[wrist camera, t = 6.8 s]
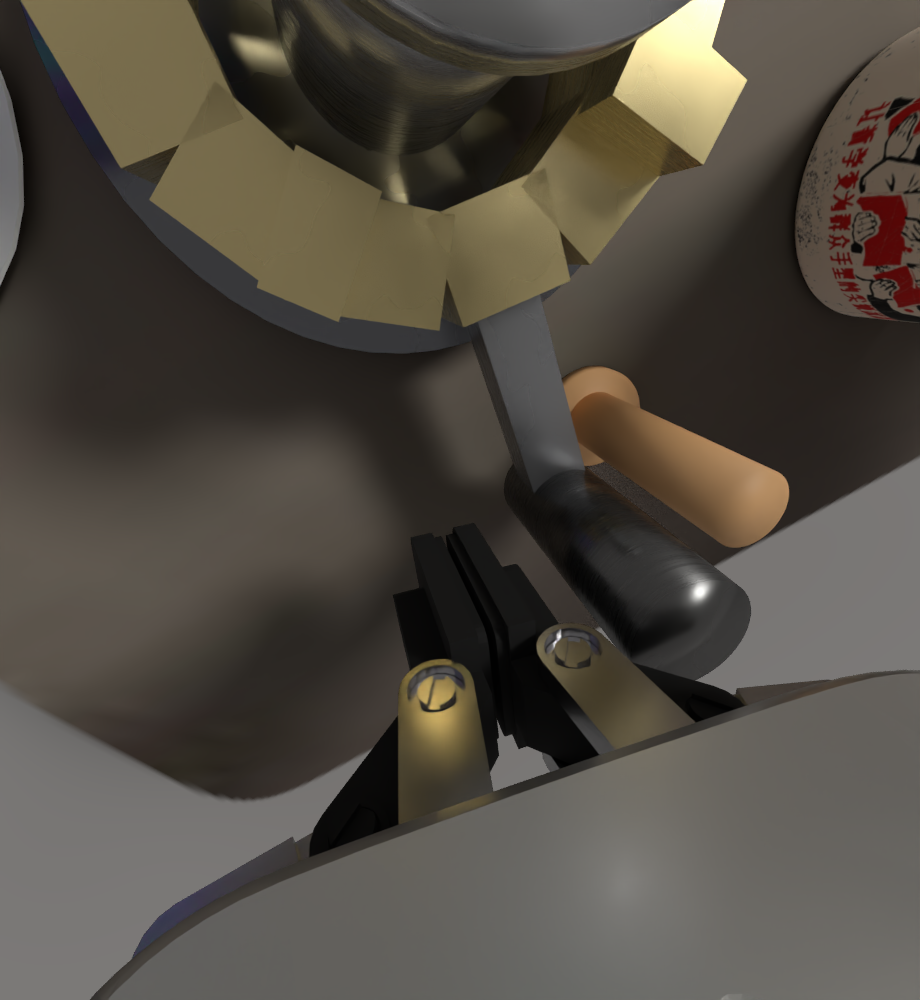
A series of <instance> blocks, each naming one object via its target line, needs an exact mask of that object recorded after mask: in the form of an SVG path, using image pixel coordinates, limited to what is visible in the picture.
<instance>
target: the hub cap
mask: <svg viewBox="0 0 920 1000" xmlns="http://www.w3.org/2000/svg"><path fill="white" fill-rule="evenodd" d="M690 1H692V0H198V5H199V18H200V21H201V23H202V25H203V27H204V29H205V31H206V33H207V36H208V38H209V40H210V42H211V44H212V46H213V48H214V51H215V53H216V55H217V57H218V59H219V61H220V63H221V66H222V68H223V70H224V72H225V74H226V76H227V78H228V80H229V83H230V85H231V87H232V89H233V91H234V93H235V95H236V98H237V100H238V102H239V103H240V104H242V105H243V106H244V107H245V108H246V109H247V110H248V111H249V112H250V113H252V114H253V115H254V116H255V117H256V118H257V119H258V120H259V121H260V122H262V123H263V124H264V125H265V126H266V127H267V128H268V129H269V130H271V131H272V132H273V133H274V134H275V135H276V136H277V137H278V138H279V139H281V140H282V141H283V142H284V143H285V144H286V145H287V146H288V147H290V148H291V149H292V150H293V151H294V150H295V146H296V145H298V146H300V147H301V148H303V149H305V150H307V151H309V152H311V153H312V154H314V155H316V156H318V157H320V158H322V159H323V160H325V161H327V162H329V163H331V164H333V165H334V166H336V167H338V168H340V169H342V170H344V171H345V172H347V173H349V174H351V175H353V176H355V177H356V178H358V179H360V180H362V181H364V182H366V183H367V184H369V185H371V186H373V187H375V188H377V189H378V190H380V191H382V193H381V196H380V199H384V200H388V201H393V202H397V203H402V204H406V205H411V206H416V207H420V208H425V209H429V210H434V211H438V212H441V211H443V210H446V209H448V208H450V207H453V206H455V205H457V204H460V203H462V202H464V201H467V200H469V199H471V198H474V197H476V196H479V195H481V194H483V193H486V192H488V191H490V190H491V188H492V187H493V185H494V184H495V182H496V181H497V180H498V178H499V177H500V175H501V174H502V173H503V171H504V170H505V168H506V167H507V166H508V164H509V163H510V161H511V160H512V158H513V157H514V156H515V154H516V153H517V151H518V150H519V149H520V147H521V146H522V144H523V143H524V141H525V140H526V139H527V137H528V136H529V134H530V133H531V132H532V130H533V129H534V127H535V126H536V124H537V123H538V122H539V120H540V119H541V116H542V111H543V105H544V100H545V94H546V89H547V84H548V78H549V74H550V73H555V72H561V71H566V70H572V69H575V68H577V67H580V66H583V65H586V64H588V63H591V62H594V61H597V60H599V59H602V58H605V57H607V56H609V55H610V54H612V53H614V52H616V51H617V50H619V49H621V48H623V47H625V46H626V45H628V44H630V43H632V42H634V41H635V40H637V39H639V38H640V37H641V36H643V35H644V34H646V33H647V32H649V31H650V30H651V29H653V28H654V27H656V26H657V25H658V24H660V23H661V22H663V21H664V20H665V19H667V18H668V17H670V16H671V15H672V14H674V13H675V12H677V11H678V10H679V9H681V8H682V7H684V6H685V5H686V4H688V3H689V2H690ZM20 3H21V6H22V8H23V11H24V14H25V17H26V20H27V23H28V26H29V29H30V32H31V35H32V37H33V40H34V43H35V46H36V48H37V50H38V52H39V54H40V57H41V59H42V61H43V63H44V65H45V68H46V70H47V72H48V74H49V76H50V78H51V81H52V83H53V85H54V87H55V89H56V92H57V94H58V96H59V98H60V100H61V102H62V104H63V106H64V108H65V110H66V111H67V113H68V115H69V116H70V118H71V120H72V122H73V123H74V125H75V127H76V128H77V130H78V132H79V134H80V135H81V137H82V139H83V140H84V142H85V144H86V146H87V147H88V149H89V151H90V153H91V154H92V156H93V157H94V159H95V160H96V161H97V163H98V164H99V166H100V167H101V168H102V170H103V171H104V173H105V174H106V175H107V177H108V178H109V180H110V181H111V182H112V184H113V185H114V186H115V188H116V189H117V191H118V192H119V193H120V195H121V196H122V198H123V199H124V200H125V202H126V203H127V204H128V205H129V206H130V207H131V208H132V210H133V211H134V212H135V213H136V214H137V215H138V216H139V218H140V219H141V220H142V221H143V222H144V223H145V224H146V226H147V227H148V228H149V229H150V230H151V231H152V232H153V233H154V235H155V236H156V237H157V238H158V239H159V240H160V241H161V242H162V243H163V244H164V245H165V246H166V247H167V248H168V249H169V250H171V251H172V252H173V253H174V254H175V255H176V256H177V257H178V258H179V259H180V260H181V261H182V262H184V263H185V264H186V265H187V266H188V267H189V268H190V269H191V270H192V271H193V272H194V273H195V274H197V275H198V276H200V277H201V278H202V279H204V280H205V281H206V282H208V283H209V284H210V285H212V286H213V287H214V288H216V289H217V290H218V291H220V292H221V293H222V294H224V295H225V296H226V297H228V298H229V299H230V300H232V301H234V302H235V303H237V304H239V305H240V306H242V307H244V308H246V309H247V310H249V311H251V312H252V313H254V314H256V315H258V316H259V317H261V318H263V319H264V320H266V321H268V322H270V323H273V324H275V325H277V326H280V327H282V328H284V329H286V330H289V331H291V332H293V333H296V334H298V335H300V336H302V337H306V338H309V339H312V340H316V341H319V342H322V343H326V344H329V345H333V346H336V347H341V348H347V349H353V350H359V351H365V352H371V353H404V354H405V353H414V352H424V351H433V350H439V349H443V348H447V347H451V346H455V345H459V344H463V343H467V342H470V341H471V339H470V336H469V333H468V330H467V327H464V328H463V327H461V326H459V325H457V324H455V323H453V322H451V321H448V320H446V319H444V318H442V317H441V322H440V330H439V331H437V330H430V329H423V328H416V327H409V326H403V325H396V324H389V323H382V322H375V321H368V320H362V319H355V318H348V317H341V316H340V319H339V322H337V321H335V320H332V319H330V318H328V317H325V316H323V315H320V314H318V313H314V312H313V311H311V310H309V309H306V308H304V307H302V306H299V305H297V304H294V303H292V302H290V301H287V300H284V299H283V298H280V297H278V296H275V295H273V294H271V293H268V292H266V291H264V290H261V289H259V288H257V285H258V281H259V280H257V279H256V278H254V277H253V276H252V275H250V274H249V273H248V272H246V271H245V270H244V269H242V268H241V267H240V266H238V265H237V264H236V263H234V262H233V261H231V260H230V259H229V258H227V257H226V256H225V255H223V254H222V253H221V252H219V251H218V250H217V249H215V248H214V247H213V246H211V245H210V244H208V243H207V242H206V241H204V240H203V239H202V238H200V237H199V236H198V235H196V234H195V233H194V232H192V231H191V230H190V229H188V228H187V227H185V226H184V225H183V224H181V223H180V222H179V221H177V220H176V219H175V218H173V217H172V216H171V215H169V214H168V213H167V212H165V211H164V210H162V209H161V208H160V207H158V206H157V205H156V204H154V203H153V202H152V201H150V200H149V199H150V197H151V196H152V194H153V192H154V190H155V188H156V187H157V185H156V184H154V183H151V182H149V181H147V180H145V179H143V178H141V177H138V176H136V175H134V174H132V173H130V172H128V171H126V170H123V169H121V168H120V166H119V164H118V163H117V161H116V159H115V158H114V156H113V154H112V153H111V151H110V149H109V148H108V146H107V144H106V143H105V141H104V139H103V138H102V136H101V134H100V132H99V131H98V129H97V127H96V126H95V124H94V122H93V121H92V119H91V117H90V116H89V114H88V112H87V111H86V109H85V107H84V106H83V104H82V102H81V101H80V99H79V97H78V96H77V94H76V92H75V91H74V89H73V87H72V86H71V84H70V82H69V81H68V79H67V77H66V76H65V74H64V72H63V71H62V69H61V67H60V66H59V64H58V62H57V61H56V59H55V57H54V56H53V54H52V52H51V51H50V49H49V47H48V46H47V44H46V42H45V41H44V39H43V37H42V35H41V34H40V32H39V30H38V29H37V27H36V25H35V24H34V22H33V20H32V19H31V17H30V15H29V14H28V12H27V10H26V9H25V7H24V5H23V4H22V2H21V0H20ZM567 267H568V271H569V276H570V277H571V276H572V275H573V274H574V273H575V272H576V270H577V269H578V268H579V267H580V265H567ZM560 286H561V285H560ZM560 286H557V287H555V288H553V289H550V290H548V291H546V292H544V293H541V294H540V298H541V301H542V302H543V301H544V300H545V299H547V298H548V297H549V296H551V295H552V294H553V293H554V292H555V291H556V290H557V289H558V288H559V287H560Z"/></svg>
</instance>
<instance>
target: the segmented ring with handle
mask: <svg viewBox="0 0 920 1000" xmlns="http://www.w3.org/2000/svg"><path fill="white" fill-rule="evenodd" d="M724 1H725V0H692V1H690V2H689V3H688V4H686V5H685V6H684V7H682V8H681V9H679V10H678V11H677V12H675V13H674V14H672V15H671V16H670V17H668V18H667V19H665V20H664V21H663V22H661V23H660V24H658V25H657V26H656V27H654V28H653V29H651V30H650V31H649V32H647V33H646V34H644V35H643V36H641V37H640V38H639V39H637V40H635V41H634V42H632V43H630V44H628V45H626V46H625V47H623V48H621V49H619V50H617V51H616V52H614V53H612V54H610V55H609V56H607V57H605V58H602V59H599V60H597V61H594V62H591V63H588V64H586V65H583V66H580V67H577V68H575V69H572V70H566V71H561V72H555V73H550V74H549V78H548V84H547V89H546V94H545V100H544V105H543V111H542V116H541V119H540V120H539V122H538V123H537V124H536V126H535V127H534V129H533V130H532V132H531V133H530V134H529V136H528V137H527V139H526V140H525V141H524V143H523V144H522V146H521V147H520V149H519V150H518V151H517V153H516V154H515V156H514V157H513V158H512V160H511V161H510V163H509V164H508V166H507V167H506V168H505V170H504V171H503V173H502V174H501V175H500V177H499V178H498V180H497V181H496V182H495V184H494V185H493V187H492V188H491V190H490V191H488V192H486V193H483V194H481V195H479V196H476V197H474V198H471V199H469V200H467V201H464V202H462V203H460V204H457V205H455V206H453V207H450V208H448V209H446V210H443V211H441V212H438V211H434V210H429V209H425V208H420V207H416V206H411V205H406V204H402V203H397V202H393V201H388V200H384V199H380V196H381V193H382V191H380V190H378V189H377V188H375V187H373V186H371V185H369V184H367V183H366V182H364V181H362V180H360V179H358V178H356V177H355V176H353V175H351V174H349V173H347V172H345V171H344V170H342V169H340V168H338V167H336V166H334V165H333V164H331V163H329V162H327V161H325V160H323V159H322V158H320V157H318V156H316V155H314V154H312V153H311V152H309V151H307V150H305V149H303V148H301V147H300V146H298V145H296V146H295V150H294V151H293V150H292V149H291V148H290V147H288V146H287V145H286V144H285V143H284V142H283V141H282V140H281V139H279V138H278V137H277V136H276V135H275V134H274V133H273V132H272V131H271V130H269V129H268V128H267V127H266V126H265V125H264V124H263V123H262V122H260V121H259V120H258V119H257V118H256V117H255V116H254V115H253V114H252V113H250V112H249V111H248V110H247V109H246V108H245V107H244V106H243V105H242V104H240V103H239V102H238V100H237V98H236V95H235V93H234V91H233V89H232V87H231V85H230V83H229V80H228V78H227V76H226V74H225V72H224V70H223V68H222V66H221V63H220V61H219V59H218V57H217V55H216V53H215V51H214V48H213V46H212V44H211V42H210V40H209V38H208V36H207V33H206V31H205V29H204V27H203V25H202V23H201V21H200V18H199V5H198V0H21V2H22V4H23V5H24V7H25V9H26V10H27V12H28V14H29V15H30V17H31V19H32V20H33V22H34V24H35V25H36V27H37V29H38V30H39V32H40V34H41V35H42V37H43V39H44V41H45V42H46V44H47V46H48V47H49V49H50V51H51V52H52V54H53V56H54V57H55V59H56V61H57V62H58V64H59V66H60V67H61V69H62V71H63V72H64V74H65V76H66V77H67V79H68V81H69V82H70V84H71V86H72V87H73V89H74V91H75V92H76V94H77V96H78V97H79V99H80V101H81V102H82V104H83V106H84V107H85V109H86V111H87V112H88V114H89V116H90V117H91V119H92V121H93V122H94V124H95V126H96V127H97V129H98V131H99V132H100V134H101V136H102V138H103V139H104V141H105V143H106V144H107V146H108V148H109V149H110V151H111V153H112V154H113V156H114V158H115V159H116V161H117V163H118V164H119V166H120V168H121V169H123V170H126V171H128V172H130V173H132V174H134V175H136V176H138V177H141V178H143V179H145V180H147V181H149V182H151V183H154V184H156V185H157V187H156V188H155V190H154V192H153V194H152V196H151V197H150V199H149V200H150V201H152V202H153V203H154V204H156V205H157V206H158V207H160V208H161V209H162V210H164V211H165V212H167V213H168V214H169V215H171V216H172V217H173V218H175V219H176V220H177V221H179V222H180V223H181V224H183V225H184V226H185V227H187V228H188V229H190V230H191V231H192V232H194V233H195V234H196V235H198V236H199V237H200V238H202V239H203V240H204V241H206V242H207V243H208V244H210V245H211V246H213V247H214V248H215V249H217V250H218V251H219V252H221V253H222V254H223V255H225V256H226V257H227V258H229V259H230V260H231V261H233V262H234V263H236V264H237V265H238V266H240V267H241V268H242V269H244V270H245V271H246V272H248V273H249V274H250V275H252V276H253V277H254V278H256V279H257V280H259V281H258V285H257V288H259V289H261V290H264V291H266V292H268V293H271V294H273V295H275V296H278V297H280V298H283V299H284V300H287V301H290V302H292V303H294V304H297V305H299V306H302V307H304V308H306V309H309V310H311V311H313V312H314V313H318V314H320V315H323V316H325V317H328V318H330V319H332V320H335V321H337V322H339V319H340V316H341V317H348V318H355V319H362V320H368V321H375V322H382V323H389V324H396V325H403V326H409V327H416V328H423V329H430V330H437V331H439V330H440V322H441V317H442V318H444V319H446V320H448V321H451V322H453V323H455V324H457V325H459V326H461V327H463V328H464V327H467V330H468V333H469V336H470V339H471V341H472V344H473V347H474V350H475V353H476V356H477V359H478V362H479V365H480V368H481V371H482V374H483V376H484V379H485V382H486V385H487V388H488V391H489V394H490V397H491V400H492V403H493V406H494V409H495V412H496V414H497V417H498V420H499V423H500V426H501V429H502V432H503V435H504V438H505V441H506V444H507V447H508V449H509V452H510V455H511V458H512V461H513V465H512V466H511V468H510V470H509V472H508V474H507V476H506V479H505V484H504V494H505V499H506V501H507V504H508V505H509V507H510V508H511V510H512V511H513V512H514V514H515V515H516V516H517V518H518V519H519V520H520V521H521V523H522V524H523V525H524V527H525V528H526V529H527V531H528V532H529V533H530V535H531V536H532V537H533V539H534V540H535V541H536V543H537V544H538V545H539V547H540V548H541V549H542V550H543V552H544V553H545V554H546V556H547V557H548V558H549V560H550V561H551V562H552V564H553V565H554V566H555V568H556V569H557V570H558V572H559V573H560V574H561V576H562V577H563V578H564V579H565V581H566V582H567V583H568V585H569V586H570V587H571V589H572V590H573V591H574V593H575V594H576V595H577V597H578V598H579V599H580V601H581V602H582V603H583V604H584V606H585V607H586V608H587V610H588V611H589V612H590V614H591V615H592V616H593V618H594V619H595V620H596V622H597V623H598V624H599V626H600V627H601V628H602V630H603V631H604V632H605V633H606V635H607V636H608V637H609V638H610V640H611V641H612V643H613V644H614V645H615V647H616V648H617V649H618V650H619V651H620V652H621V653H622V654H623V655H625V656H626V657H627V658H628V659H629V660H630V661H631V662H633V663H636V664H640V665H643V666H647V667H650V668H653V669H657V670H660V671H664V672H667V673H671V674H674V675H677V676H681V677H684V678H688V679H691V680H697V679H699V678H701V677H703V676H704V675H706V674H708V673H709V672H711V671H712V670H714V669H715V668H716V667H718V666H719V665H720V664H721V663H723V662H724V661H725V660H726V659H727V658H728V657H729V656H730V655H731V654H732V652H733V651H734V650H735V649H736V648H737V646H738V644H739V643H740V642H741V640H742V638H743V636H744V635H745V633H746V630H747V628H748V624H749V621H750V616H751V606H750V601H749V598H748V596H747V594H746V593H745V591H744V590H743V589H742V588H741V587H739V586H738V585H737V584H735V583H734V582H733V581H731V580H730V579H729V578H728V577H726V576H725V575H724V574H723V573H721V572H720V571H719V570H717V569H716V568H715V567H714V566H712V565H711V564H710V563H709V562H707V561H706V560H705V559H703V558H702V557H701V556H700V555H698V554H697V553H696V552H694V551H693V550H692V549H691V548H689V547H688V546H687V545H685V544H684V543H683V542H682V541H680V540H679V539H678V538H676V537H675V536H674V535H673V534H671V533H670V532H669V531H668V530H666V529H665V528H664V527H662V526H661V525H660V524H659V523H657V522H656V521H655V520H653V519H652V518H651V517H650V516H648V515H647V514H646V513H644V512H643V511H642V510H641V509H639V508H638V507H637V506H635V505H634V504H633V503H632V502H630V501H629V500H628V499H626V498H625V497H624V496H623V495H621V494H620V493H619V492H618V491H616V490H615V489H614V488H612V487H611V486H610V485H609V484H607V483H606V482H605V481H603V480H602V479H601V478H600V477H598V476H597V475H596V474H594V473H593V472H592V471H591V470H589V469H588V468H587V467H585V466H584V463H583V460H582V456H581V452H580V448H579V444H578V440H577V436H576V433H575V429H574V425H573V421H572V417H571V413H570V409H569V406H568V402H567V398H566V394H565V390H564V386H563V382H562V379H561V375H560V371H559V367H558V363H557V359H556V355H555V352H554V348H553V344H552V340H551V336H550V332H549V328H548V325H547V321H546V317H545V313H544V309H543V305H542V301H541V298H540V294H541V293H544V292H546V291H548V290H550V289H553V288H555V287H557V286H560V285H562V284H564V283H566V282H569V281H571V280H570V276H569V271H568V267H567V265H591V264H592V262H593V261H594V260H595V258H596V257H597V256H598V255H599V253H600V252H601V251H602V249H603V248H604V247H605V246H606V244H607V243H608V242H609V240H610V239H611V238H612V237H613V235H614V234H615V233H616V231H617V230H618V229H619V228H620V226H621V225H622V224H623V222H624V221H625V220H626V219H627V217H628V216H629V215H630V214H631V212H632V211H633V210H634V208H635V207H636V206H637V205H638V203H639V202H640V201H641V199H642V198H643V197H644V196H645V194H646V193H647V192H648V190H649V189H650V188H651V187H652V185H653V184H654V183H655V181H656V180H657V179H658V178H659V176H662V175H666V174H670V173H674V172H678V171H682V170H685V169H689V168H693V167H697V166H701V165H703V164H704V163H705V161H706V159H707V157H708V155H709V153H710V151H711V149H712V147H713V145H714V143H715V141H716V139H717V137H718V135H719V133H720V132H721V130H722V128H723V126H724V124H725V122H726V120H727V118H728V116H729V114H730V112H731V110H732V108H733V106H734V104H735V102H736V101H737V99H738V97H739V95H740V93H741V91H742V89H743V87H744V85H745V83H746V81H747V79H746V78H744V77H743V76H742V75H741V74H740V73H739V72H738V71H737V70H736V69H735V68H734V67H732V66H731V65H730V64H729V63H728V62H727V61H726V60H725V59H724V58H723V57H721V56H720V55H719V54H718V53H717V52H716V51H715V50H714V49H713V48H712V43H713V40H714V36H715V33H716V29H717V26H718V22H719V19H720V15H721V12H722V8H723V5H724Z"/></svg>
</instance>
